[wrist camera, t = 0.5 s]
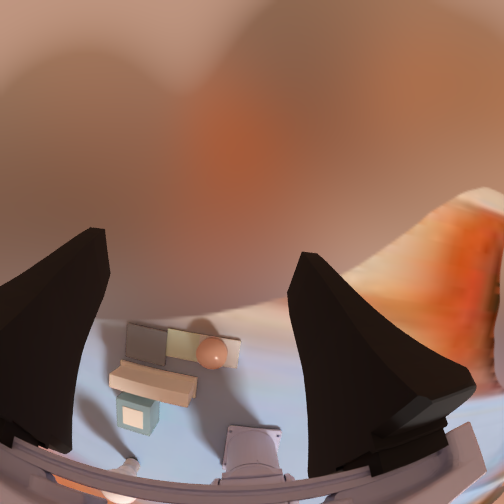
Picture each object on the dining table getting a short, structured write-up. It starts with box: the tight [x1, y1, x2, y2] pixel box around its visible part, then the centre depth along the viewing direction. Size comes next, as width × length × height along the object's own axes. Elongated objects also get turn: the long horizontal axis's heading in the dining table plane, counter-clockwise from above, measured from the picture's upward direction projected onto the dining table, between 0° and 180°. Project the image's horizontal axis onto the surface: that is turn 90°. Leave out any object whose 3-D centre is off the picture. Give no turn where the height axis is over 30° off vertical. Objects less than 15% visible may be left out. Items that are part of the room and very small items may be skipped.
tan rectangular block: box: [109, 360, 198, 408], centre depth 33 cm, size 3×12×5 cm, turn 82°
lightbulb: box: [101, 458, 140, 504], centre depth 28 cm, size 6×6×11 cm
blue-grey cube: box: [116, 391, 160, 436], centre depth 33 cm, size 5×5×5 cm
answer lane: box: [166, 328, 241, 368], centre depth 36 cm, size 4×10×1 cm, turn 81°
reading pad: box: [125, 323, 168, 366], centre depth 36 cm, size 5×6×1 cm
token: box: [196, 337, 228, 369], centre depth 35 cm, size 4×4×2 cm
